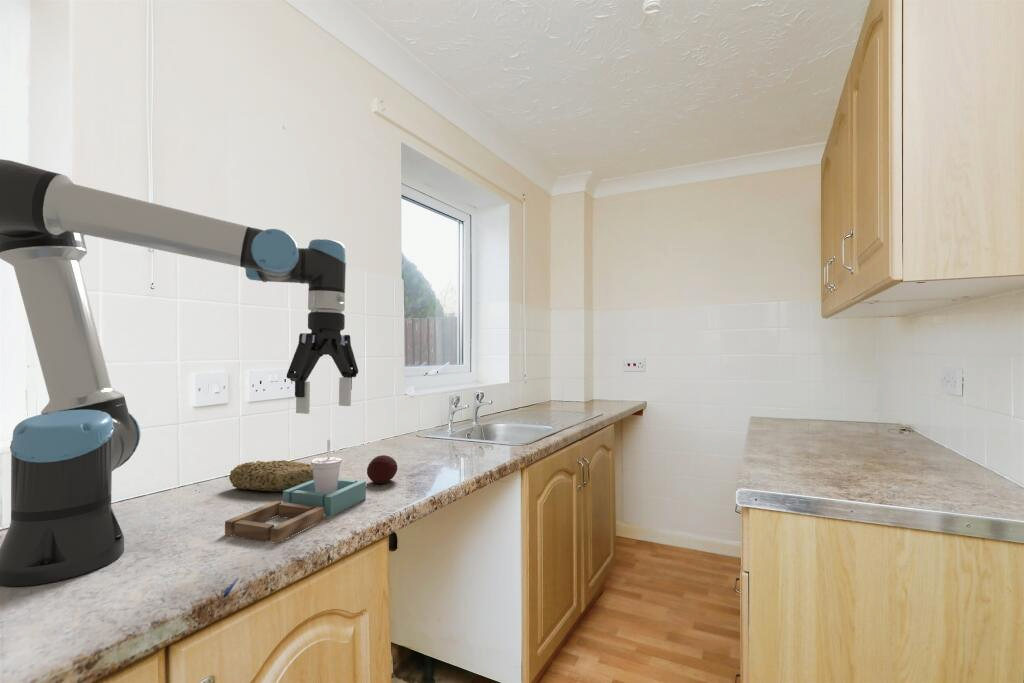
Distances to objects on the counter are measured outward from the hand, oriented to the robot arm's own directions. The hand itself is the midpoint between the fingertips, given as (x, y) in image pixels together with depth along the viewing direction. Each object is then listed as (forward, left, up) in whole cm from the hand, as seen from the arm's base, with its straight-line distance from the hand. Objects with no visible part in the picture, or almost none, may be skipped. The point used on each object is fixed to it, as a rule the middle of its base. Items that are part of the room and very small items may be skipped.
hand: (325, 409), depth 106 cm
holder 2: (0, 0, -21) cm, 21 cm away
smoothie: (0, 0, -21) cm, 21 cm away
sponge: (+6, +18, -21) cm, 29 cm away
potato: (+19, -2, -21) cm, 29 cm away
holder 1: (-14, 0, -21) cm, 25 cm away
